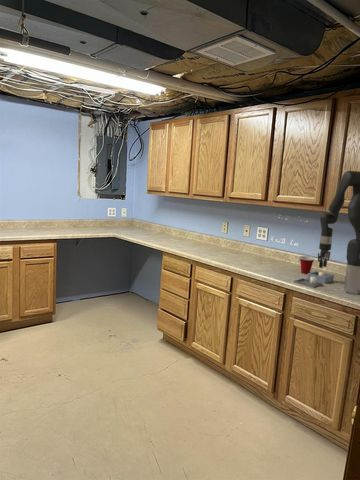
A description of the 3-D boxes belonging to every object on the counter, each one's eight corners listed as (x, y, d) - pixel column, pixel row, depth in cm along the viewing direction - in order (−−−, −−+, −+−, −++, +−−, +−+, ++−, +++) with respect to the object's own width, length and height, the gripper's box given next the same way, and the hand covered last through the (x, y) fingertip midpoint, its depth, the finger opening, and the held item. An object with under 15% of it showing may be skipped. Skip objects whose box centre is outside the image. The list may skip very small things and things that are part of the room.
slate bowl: (333, 281, 250) (333, 275, 250) (324, 284, 242) (325, 277, 241) (315, 277, 259) (316, 271, 259) (307, 279, 251) (307, 273, 250)
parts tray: (322, 285, 238) (322, 283, 238) (313, 288, 230) (313, 285, 230) (302, 280, 248) (302, 278, 248) (293, 282, 240) (293, 280, 240)
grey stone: (317, 285, 236) (318, 277, 236) (314, 286, 234) (315, 278, 233) (311, 283, 239) (312, 276, 239) (308, 284, 237) (309, 277, 236)
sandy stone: (325, 279, 251) (326, 272, 251) (322, 280, 249) (323, 273, 248) (319, 278, 254) (320, 271, 254) (316, 279, 252) (317, 272, 251)
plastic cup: (295, 273, 269) (297, 257, 267) (299, 270, 278) (301, 255, 276) (310, 275, 263) (312, 259, 261) (314, 273, 272) (316, 257, 270)
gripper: (326, 244, 240) (323, 269, 243) (335, 242, 250) (332, 267, 252) (315, 242, 245) (312, 267, 248) (325, 241, 255) (322, 264, 258)
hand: (322, 266), depth 250 cm, fingers open, 5 cm apart
